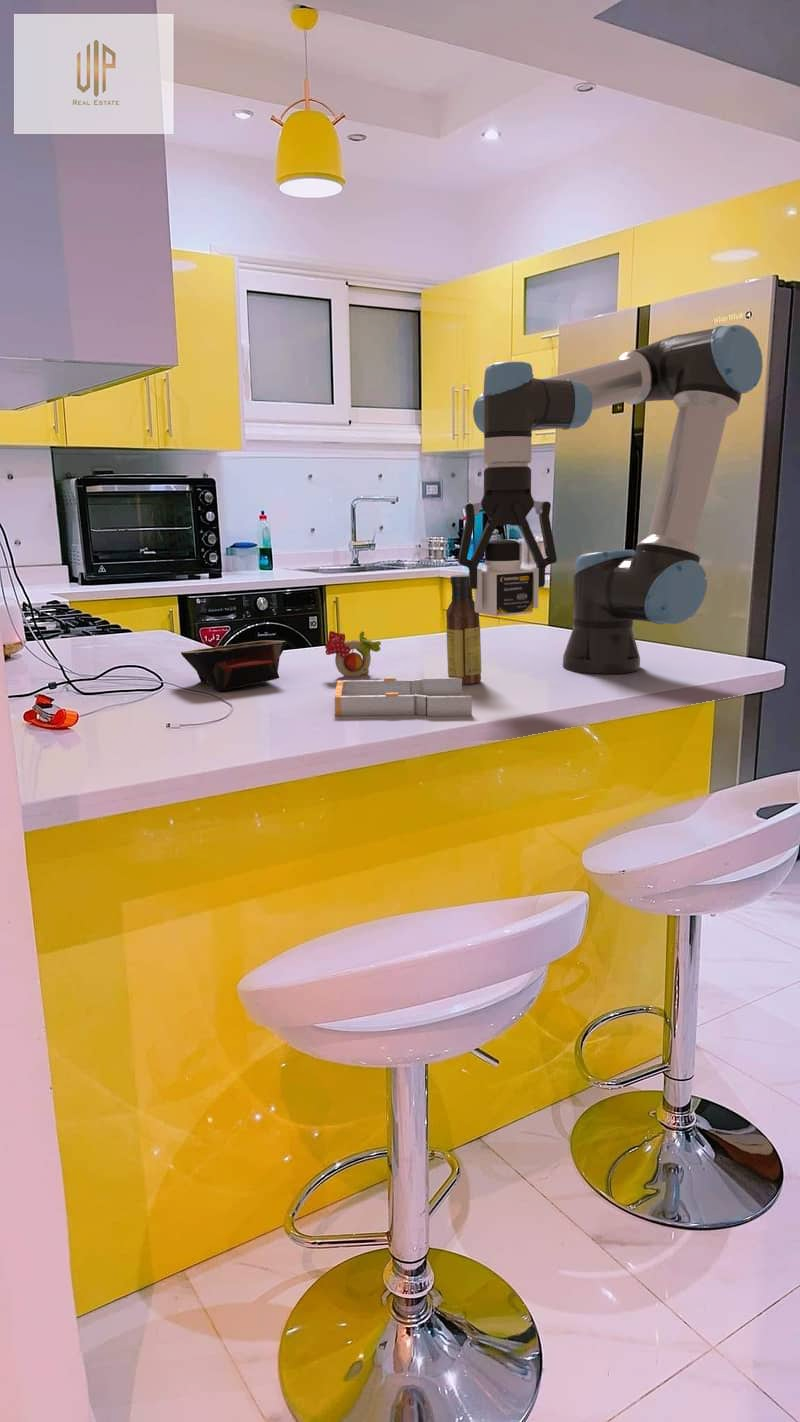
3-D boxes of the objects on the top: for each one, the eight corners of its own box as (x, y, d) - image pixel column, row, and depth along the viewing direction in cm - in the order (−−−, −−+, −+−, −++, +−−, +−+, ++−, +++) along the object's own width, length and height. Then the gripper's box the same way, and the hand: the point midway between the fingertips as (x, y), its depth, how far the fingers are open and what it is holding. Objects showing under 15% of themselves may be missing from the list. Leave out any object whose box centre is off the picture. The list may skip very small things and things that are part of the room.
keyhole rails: (461, 694, 161) (461, 675, 160) (471, 715, 144) (471, 694, 144) (338, 696, 160) (337, 676, 159) (334, 717, 144) (334, 696, 143)
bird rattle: (385, 677, 177) (385, 630, 175) (337, 683, 171) (335, 635, 169) (367, 672, 182) (366, 626, 180) (319, 678, 176) (318, 631, 174)
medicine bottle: (497, 616, 148) (496, 541, 146) (473, 612, 155) (473, 540, 152) (533, 613, 152) (533, 539, 149) (509, 609, 158) (509, 538, 155)
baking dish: (186, 695, 173) (173, 644, 170) (272, 669, 181) (261, 620, 178) (212, 710, 161) (199, 655, 158) (302, 681, 169) (292, 629, 166)
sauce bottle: (481, 679, 174) (482, 573, 169) (481, 686, 168) (482, 576, 163) (446, 679, 174) (447, 573, 170) (445, 685, 168) (445, 576, 164)
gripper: (568, 465, 150) (566, 603, 155) (439, 468, 150) (440, 607, 155) (579, 463, 143) (575, 609, 148) (442, 466, 142) (444, 612, 147)
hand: (506, 608), depth 151 cm, fingers closed on medicine bottle, 8 cm apart
